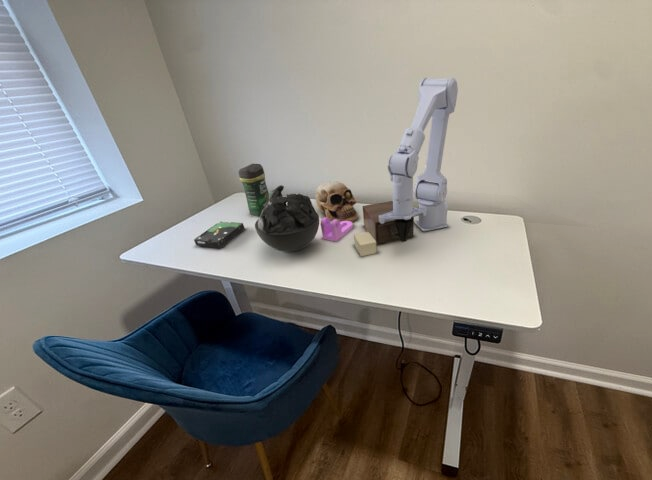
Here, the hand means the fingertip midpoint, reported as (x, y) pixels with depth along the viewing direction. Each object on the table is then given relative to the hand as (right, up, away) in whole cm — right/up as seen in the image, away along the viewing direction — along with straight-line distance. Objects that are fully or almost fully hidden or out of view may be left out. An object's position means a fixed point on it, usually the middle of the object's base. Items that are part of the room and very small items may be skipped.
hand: (402, 240), depth 99 cm
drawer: (-3, +4, +10) cm, 11 cm away
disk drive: (-64, +4, +16) cm, 66 cm away
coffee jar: (-56, +17, +33) cm, 67 cm away
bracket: (-21, +5, +15) cm, 27 cm away
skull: (-23, +15, +27) cm, 38 cm away
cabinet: (-4, +5, +13) cm, 15 cm away
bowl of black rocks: (-36, -1, +7) cm, 37 cm away
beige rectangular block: (-12, -2, +4) cm, 13 cm away
